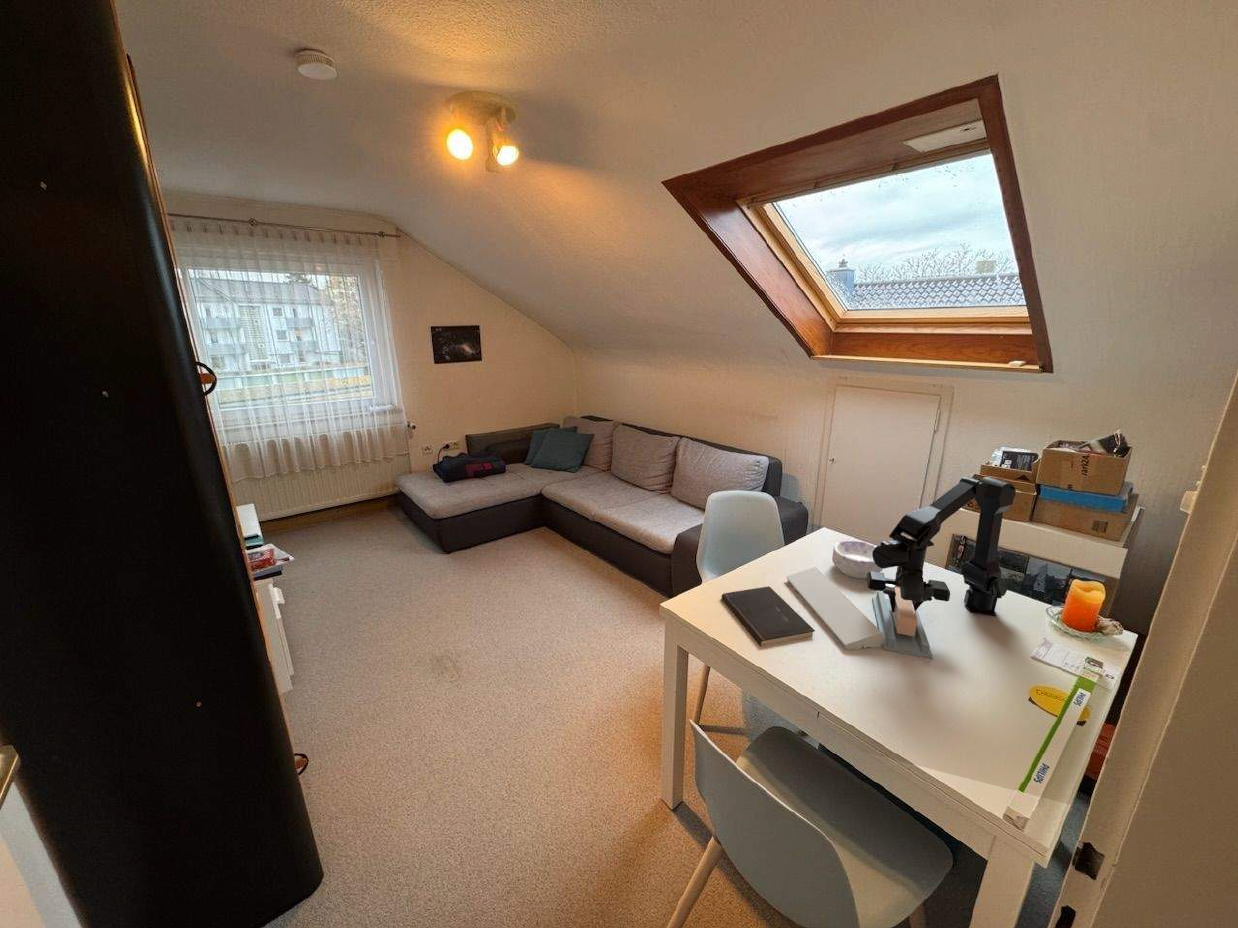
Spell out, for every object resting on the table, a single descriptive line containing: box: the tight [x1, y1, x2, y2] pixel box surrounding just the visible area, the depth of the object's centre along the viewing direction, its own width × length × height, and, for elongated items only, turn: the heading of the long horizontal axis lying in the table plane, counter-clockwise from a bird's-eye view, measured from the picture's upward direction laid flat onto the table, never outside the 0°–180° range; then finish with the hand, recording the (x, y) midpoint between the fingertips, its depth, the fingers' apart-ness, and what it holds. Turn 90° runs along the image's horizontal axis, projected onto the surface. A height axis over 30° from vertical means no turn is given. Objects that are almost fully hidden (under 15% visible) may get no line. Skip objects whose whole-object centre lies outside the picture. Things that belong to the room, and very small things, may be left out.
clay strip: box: [889, 587, 918, 636], centre depth 135 cm, size 4×16×5 cm, turn 159°
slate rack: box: [871, 590, 933, 659], centre depth 136 cm, size 11×24×4 cm, turn 160°
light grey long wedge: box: [785, 566, 884, 651], centre depth 144 cm, size 34×5×10 cm
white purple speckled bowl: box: [831, 539, 884, 579], centre depth 164 cm, size 15×15×8 cm
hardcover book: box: [721, 586, 816, 647], centre depth 142 cm, size 16×23×2 cm
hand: (901, 613), depth 135 cm, fingers closed on clay strip, 4 cm apart
